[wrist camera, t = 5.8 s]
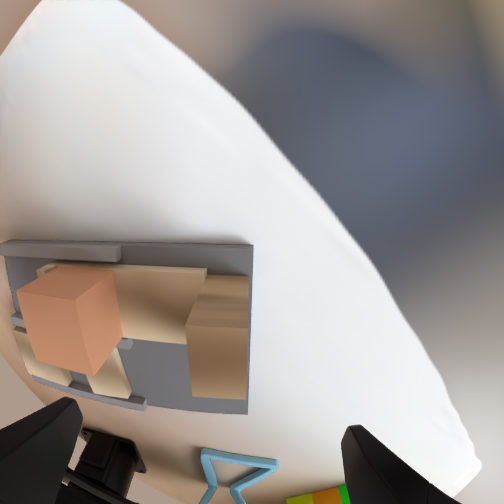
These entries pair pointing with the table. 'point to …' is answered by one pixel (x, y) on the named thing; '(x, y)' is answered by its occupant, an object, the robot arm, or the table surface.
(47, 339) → the cube
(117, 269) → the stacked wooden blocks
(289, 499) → the puzzle toy
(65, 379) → the pair of tan slabs
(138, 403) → the lane bed
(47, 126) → the table surface
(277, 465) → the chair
